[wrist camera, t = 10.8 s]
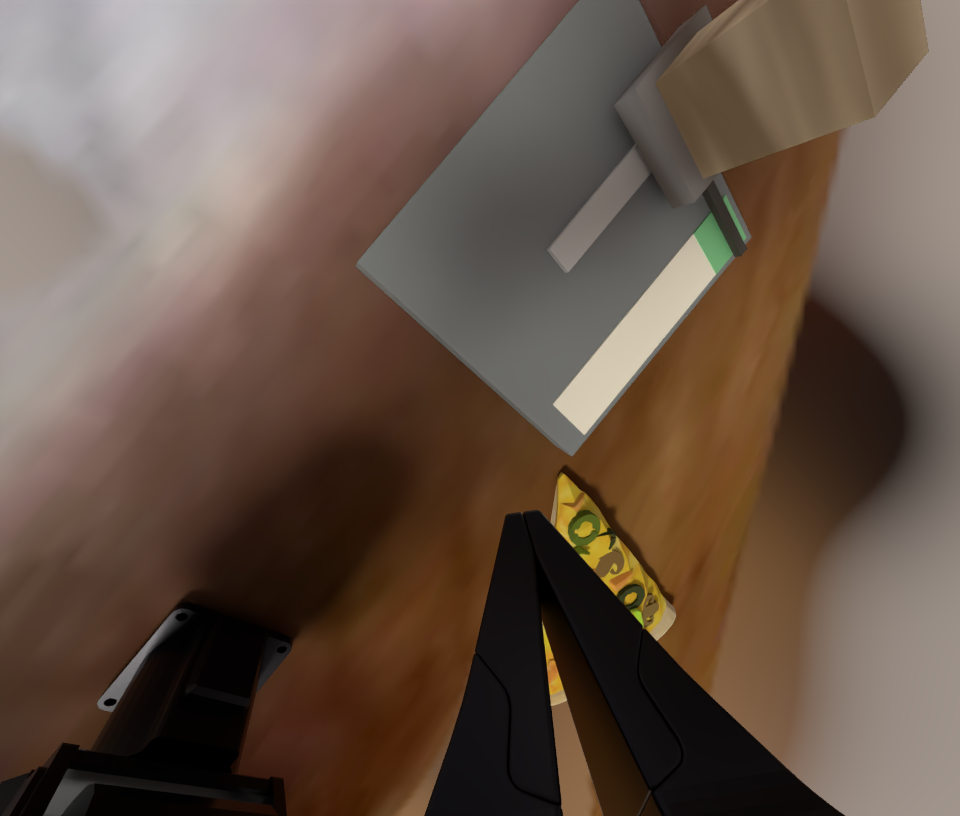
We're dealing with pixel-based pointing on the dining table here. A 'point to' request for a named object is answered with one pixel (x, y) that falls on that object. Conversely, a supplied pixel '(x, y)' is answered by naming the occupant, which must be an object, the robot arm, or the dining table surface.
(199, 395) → the dining table surface
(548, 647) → the pizza slice
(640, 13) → the board
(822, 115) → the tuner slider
